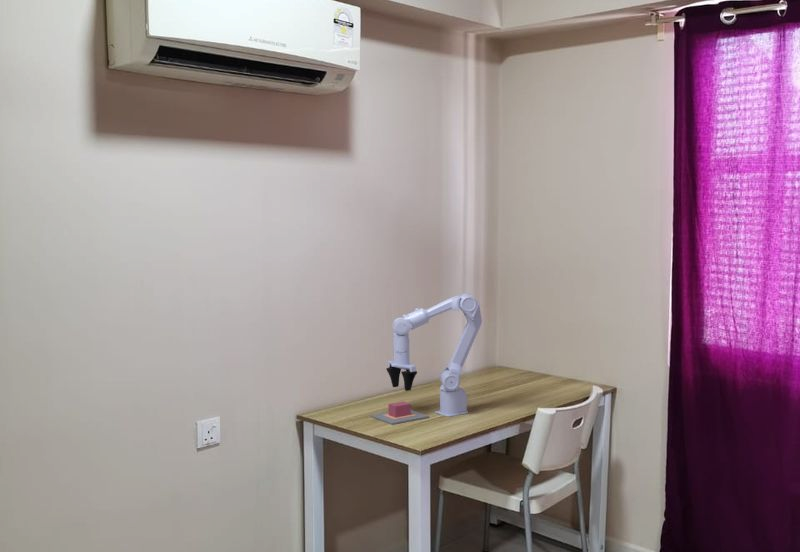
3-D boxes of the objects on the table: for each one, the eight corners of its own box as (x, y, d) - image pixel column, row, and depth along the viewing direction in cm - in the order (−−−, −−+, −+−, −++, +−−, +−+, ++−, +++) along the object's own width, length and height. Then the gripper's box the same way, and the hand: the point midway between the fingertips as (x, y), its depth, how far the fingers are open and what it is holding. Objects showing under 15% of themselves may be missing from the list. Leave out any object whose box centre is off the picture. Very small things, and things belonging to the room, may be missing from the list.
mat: (406, 410, 295) (406, 407, 295) (429, 417, 284) (429, 415, 284) (370, 416, 286) (370, 414, 286) (392, 424, 275) (392, 422, 275)
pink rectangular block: (388, 415, 285) (388, 404, 285) (403, 412, 289) (403, 401, 288) (395, 417, 281) (395, 406, 281) (410, 414, 285) (410, 403, 285)
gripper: (380, 349, 291) (381, 386, 292) (404, 355, 279) (404, 393, 280) (396, 347, 295) (396, 384, 296) (420, 353, 283) (420, 390, 284)
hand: (401, 388), depth 289 cm, fingers open, 7 cm apart
